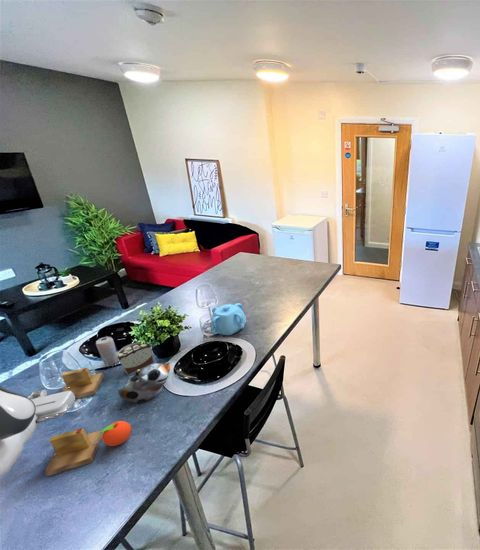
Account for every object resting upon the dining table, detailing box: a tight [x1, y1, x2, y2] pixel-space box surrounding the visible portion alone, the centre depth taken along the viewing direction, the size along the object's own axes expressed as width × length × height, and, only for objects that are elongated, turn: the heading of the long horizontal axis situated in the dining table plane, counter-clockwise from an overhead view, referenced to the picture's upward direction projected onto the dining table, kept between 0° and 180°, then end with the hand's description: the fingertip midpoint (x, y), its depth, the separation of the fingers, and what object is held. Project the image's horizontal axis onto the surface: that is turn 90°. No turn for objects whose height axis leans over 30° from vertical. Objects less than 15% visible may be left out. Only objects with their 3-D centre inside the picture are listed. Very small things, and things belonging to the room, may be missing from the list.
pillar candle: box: [95, 336, 120, 367], centre depth 121 cm, size 5×5×12 cm
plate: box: [61, 372, 105, 399], centre depth 110 cm, size 11×10×2 cm
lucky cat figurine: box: [117, 361, 171, 404], centre depth 108 cm, size 15×12×14 cm
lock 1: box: [49, 428, 91, 456], centre depth 85 cm, size 7×2×7 cm, turn 115°
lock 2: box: [61, 367, 94, 389], centre depth 108 cm, size 7×2×7 cm, turn 115°
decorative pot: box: [210, 302, 247, 336], centre depth 146 cm, size 16×16×14 cm
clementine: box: [97, 420, 132, 447], centre depth 90 cm, size 8×7×7 cm
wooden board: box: [44, 429, 104, 477], centre depth 87 cm, size 11×10×2 cm
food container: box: [116, 341, 155, 376], centre depth 120 cm, size 12×6×10 cm, turn 144°
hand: (40, 392), depth 92 cm, fingers closed
